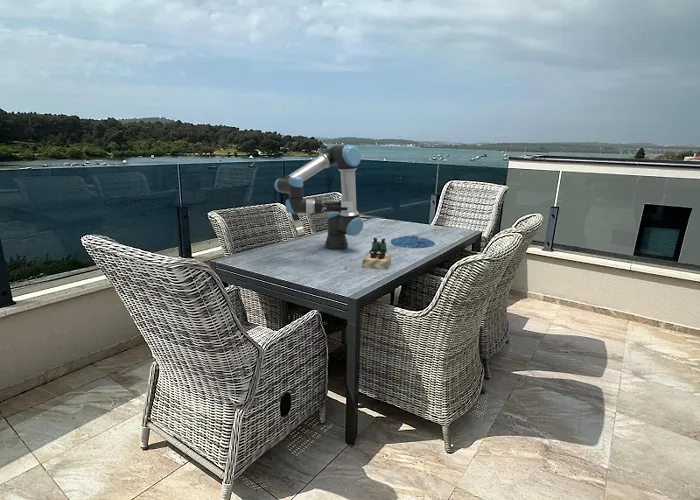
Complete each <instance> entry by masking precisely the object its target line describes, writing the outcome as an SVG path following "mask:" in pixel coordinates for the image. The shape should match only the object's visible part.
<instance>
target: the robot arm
mask: <svg viewBox="0 0 700 500" xmlns="http://www.w3.org/2000/svg"><path fill="white" fill-rule="evenodd" d="M361 159H362V154H361V151H360V150H359V148H358V147H357V146H356V145H355V146H354V145H351V144H347V145H346V144H343V145H342V144H337V145H333V146H331V147H329V148H327V149H326V150H323V151H322V152H320V153H319V154H318V157H316V158H313V160H311V161H309V162H307V163H306V164H305V165H303V166H301V167H299V168H298V169H296V170H295V171H293V172H291V173H290V174H289V175H287V176H285V177H283V178H277V179H276V180H275V181H274V189H275V190H276V191H277V192H279V193H281V194H282V193H283V194H287V195H289V198H287V199H286V200H285V212H287V213H288V214H308V215H311V214H322V211H326V212H328V211H329V213H328V214H327V220H326V221H327V223H326V224H327V237H326V239H325V243H324V247H325V248H326V249H328V250H329V249H330V250H345V249H347V248H348V247H349V242H348V239H347V236H352V237H356V236H359V235H360V233H361V232H362V231H363V228H364V221H363V219H362V218H361V217H360V212H359V211H358V210H357V191H356V189H357V188H356V187H357V186H356V170H357V169H358V166H359V165H360V163H361ZM332 166H337V170H338V171H339V172H340V183H341V184H340V186H341V187H340V188H341V200H339V201H332V202H331V201H329V202H327V201H326V202H323V201H322V199H312V198H310V199H308V198H307V199H304V182H305V181H307V180H308V179H310V178H311V177H313V176H315V175H316V174H318V173H319V172H321V171H323V170H324V169H329V168H330V167H332ZM322 202H323V203H322ZM346 235H347V236H346Z"/></svg>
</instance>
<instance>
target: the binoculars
mask: <svg viewBox="0 0 700 500" xmlns="http://www.w3.org/2000/svg"><path fill="white" fill-rule="evenodd" d="M387 251H388V250H387V242H386V238H381V241H378V238H377V237H373V241H372V243H371V249H370V250H369V252H368V253H370V254H371V255H370V257H371V258H376V256H377V255H379V256H378V258H379V259H383V258H384V256H386V253H387Z"/></svg>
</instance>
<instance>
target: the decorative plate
mask: <svg viewBox="0 0 700 500" xmlns="http://www.w3.org/2000/svg"><path fill="white" fill-rule="evenodd" d="M390 242H391V244H394V246H395V247H401V248H407V249H424V248H427V247H430V246H434V245H435V241H433V240H431V239H429V238H424V237H420V236H417V235H415V234H412V235H403V236H398V237H395V238H392V239H391V240H390Z"/></svg>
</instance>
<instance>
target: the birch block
mask: <svg viewBox="0 0 700 500" xmlns="http://www.w3.org/2000/svg"><path fill="white" fill-rule="evenodd" d="M385 254H386V253H385ZM370 255H371V254H370V253H369V252H366V254H365V256H364V257H363V258H362V263H361V264H362V267H361V268H363V269H376V270H377V269H378V270H387V269H389V268H390V265H391V263H392V254H386V256H384V258H383V259H379V258H378V256H379V255H377V256H376V258H371V257H370Z"/></svg>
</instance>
